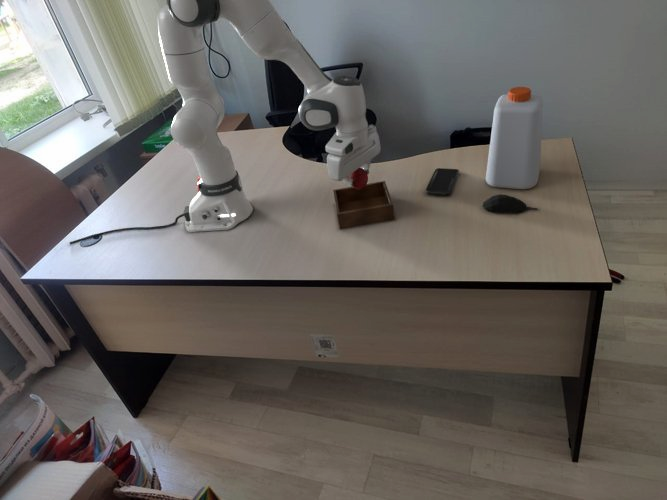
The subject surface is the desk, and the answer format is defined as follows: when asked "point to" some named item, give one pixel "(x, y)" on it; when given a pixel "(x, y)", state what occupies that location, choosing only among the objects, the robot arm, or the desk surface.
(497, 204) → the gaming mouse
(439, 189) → the phone
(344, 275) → the desk surface
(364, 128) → the robot arm
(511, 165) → the plastic bottle
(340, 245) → the desk surface
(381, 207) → the wooden box
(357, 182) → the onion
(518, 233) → the desk surface
